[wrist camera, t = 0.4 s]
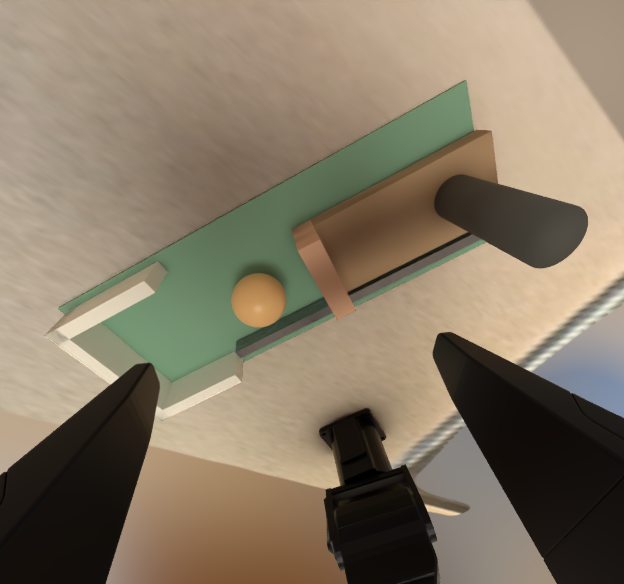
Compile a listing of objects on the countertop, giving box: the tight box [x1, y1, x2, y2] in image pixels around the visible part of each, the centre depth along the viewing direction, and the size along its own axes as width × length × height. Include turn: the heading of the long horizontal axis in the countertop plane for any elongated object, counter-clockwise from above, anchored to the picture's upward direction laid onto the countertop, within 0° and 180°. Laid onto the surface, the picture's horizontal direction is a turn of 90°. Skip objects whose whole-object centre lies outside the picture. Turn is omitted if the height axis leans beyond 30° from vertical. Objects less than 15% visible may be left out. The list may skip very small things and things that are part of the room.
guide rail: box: [235, 232, 481, 358], centre depth 24 cm, size 1×24×2 cm, turn 117°
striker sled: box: [292, 130, 588, 319], centre depth 18 cm, size 6×14×10 cm, turn 116°
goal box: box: [44, 261, 244, 421], centre depth 23 cm, size 11×8×3 cm
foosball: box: [231, 273, 286, 327], centre depth 22 cm, size 4×4×4 cm
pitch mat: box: [58, 81, 486, 382], centre depth 23 cm, size 12×32×1 cm, turn 116°
